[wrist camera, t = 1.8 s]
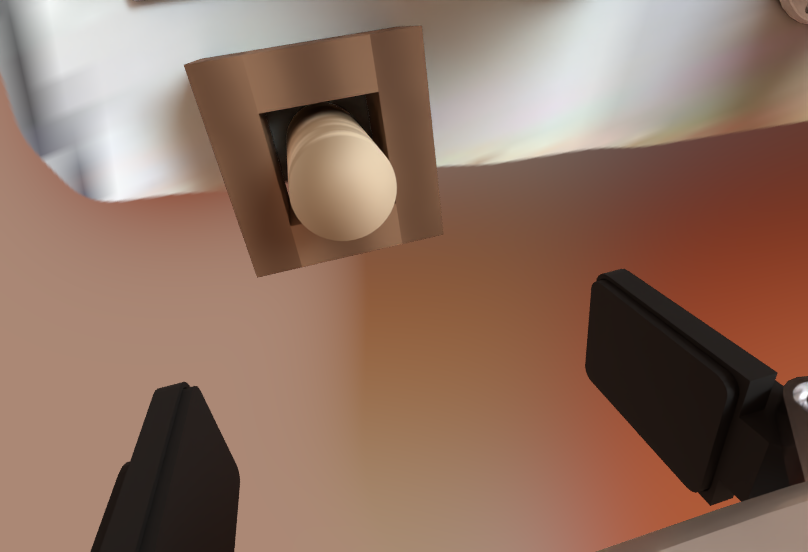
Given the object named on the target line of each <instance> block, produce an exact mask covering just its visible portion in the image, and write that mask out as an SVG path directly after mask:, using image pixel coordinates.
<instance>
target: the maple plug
mask: <svg viewBox="0 0 808 552" xmlns="http://www.w3.org/2000/svg"><path fill="white" fill-rule="evenodd" d="M286 147H287V166H288V185H289V198H290V203H291V206H292V208H293V211H294V213H295V215H296V216H297V218H298V219H299V221H300V222H301V223H302V224H303V225H304V226H305V227H306V228H307V229H309V230H310V231H311V232H313V233H314V234H316V235H318V236H320V237H323V238H326V239H329V240H334V241H350V240H355V239H359V238H362V237H364V236H366V235H368V234H370V233H372V232H373V231H375V230H376V229H377V228H379V227H380V226H381V225H382V224H383V223H384V221H385V220H386V219H387V218H388V216H389V214H390V213H391V211H392V208H393V206H394V203H395V199H396V194H397V183H396V177H395V173H394V170H393V168H392V166H391V164H390V162H389V160H388V159H387V157H386V156H385V155H384V154H383V152H382V151H381V150H380V149H379V148H378V146H377V145H376V144H375V143H374V142H373V141H372V139H371V138H370V137H369V136H368V135H367V133H366V132H365V131H364V130H363V129H362V127H361V126H360V125H359V124H358V123H357V121H356V120H355V119H354V118H353V117H352V116H351V115H350V114H349V113H348V112H347V111H346V110H345V109H343V108H342V107H340V106H338V105H335V104H332V103H326V102H319V103H314V104H310V105H308V106H306V107H304V108H302V109H301V110H300V111H298V112H297V113H296V114H295V115H294V117H293V118H292V120H291V122H290V124H289V126H288V129H287V134H286Z"/></svg>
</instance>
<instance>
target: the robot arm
mask: <svg viewBox="0 0 808 552" xmlns="http://www.w3.org/2000/svg"><path fill="white" fill-rule="evenodd" d="M779 1H780V3H781V5H782V8H783V9H784V10H785V11H786V12H787V14H788V15H789V16H790V17H791V18H793V19H795V20H796V21H798V22H799V23H804V24H808V0H779ZM585 368H586V372H587V375H588V377H589V379H590V380H591V381H592V382H593V384H594V385H595V386H596V387H597V388H598V389H599V390H600V391H601V392H602V394H603V395H604V396H605V397H606V398H607V399H608V400H609V401H610V402H611V404H612V405H613V406H614V407H615V408H616V409H617V410H618V411H619V412H620V414H621V415H622V416H623V417H624V418H625V419H626V420H627V421H628V423H630V425H631V426H632V427H633V428H634V429H635V430H636V431H637V433H638V434H639V435H640V436H641V437H642V438H643V439H644V440H645V441H646V443H647V444H648V445H649V446H650V447H651V448H652V449H653V450H654V451H655V453H656V454H657V455H658V456H659V457H660V458H661V459H662V460H663V462H664V463H665V464H666V465H667V466H668V467H669V468H670V469H671V470H672V472H673V473H674V474H675V475H676V476H677V477H678V478H679V479H680V480H681V482H682V483H683V484H684V485H685V486H686V487H687V488H688V489H689V490H691V491H692V492H698V493H699V494H700V495H701V496H702V497H703V498H704V499H705V500H706V502H708V504H709V505H710V506H711V505H714V504H717V503H720V502H722V501H725V500H728V499H731V498H733V496H734V495H735V496H736V497H737V498H738V499H739V500H740V501H741V502H739V503H736V504H733V505H730V506H727V507H724V508H721V509H718V510H715V511H712V512H710V513H706V514H704V515H701V516H698V517H695V518H692V519H689V520H686V521H683V522H681V523H678V524H675V525H672V526H669V527H666V528H663V529H660V530H657V531H654V532H651V533H649V534H646V535H643V536H640V537H637V538H634V539H632V540H629V541H625V542H623V543H620V544H617V545H614V546H611V547H608V548H606V549H603V550H600V551H597V552H808V376H804V377H796V378H794V379H791V380H789V381H788V382H787V383H786V384H785V385H784V386H783V385H781V384H780V383H778V382H777V381H776V380H775V379H776V376H777V372H776V371H774V370H773V369H771V368H770V367H768V366H767V365H765V364H764V363H762V362H761V361H759V360H758V359H757V358H755V357H754V356H752V355H751V354H749V353H748V352H746V351H745V350H743V349H742V348H741V347H739V346H738V345H736V344H735V343H733V342H732V341H730V340H729V339H727V338H726V337H724V336H723V335H721V334H720V333H718V332H717V331H715V330H714V329H713V328H711V327H709V326H708V325H707V324H705V323H704V322H702V321H701V320H699V319H698V318H696V317H695V316H693V315H692V314H691V313H689V312H688V311H686V310H685V309H683V308H682V307H680V306H679V305H677V304H676V303H674V302H673V301H672V300H670V299H669V298H667V297H665V296H664V295H663V294H661V293H660V292H658V291H657V290H656V289H654V288H653V287H651V286H650V285H648V284H647V283H645V282H644V281H642V280H641V279H639V278H638V277H636V276H635V275H633V274H632V273H630V272H629V271H627V270H625V269H620V270H615V271H612V272H608V273H604V274H601V275H599V276H598V278H597V281H596V282H594V283H593V285H592V288H591V300H590V313H589V326H588V339H587V350H586V364H585ZM239 488H240V476H239V471H238V467H237V465H236V463H235V461H234V459H233V457H232V455H231V453H230V451H229V449H228V446H227V444H226V443H225V440H224V438H223V436H222V434H221V432H220V430H219V428H218V426H217V424H216V422H215V420H214V418H213V416H212V414H211V411H210V409H209V407H208V405H207V403H206V401H205V399H204V397H203V395H202V393H201V391H200V389H199V388H198V387H197V386H193V387H190V386H189V385H188V384H187V383H186V382H182V383H178V384H174V385H170V386H167V387H162V388H159V389H157V390H155V392H154V394H153V397H152V401H151V403H150V406H149V409H148V412H147V415H146V417H145V420H144V423H143V426H142V429H141V432H140V435H139V438H138V441H137V444H136V446H135V449H134V452H133V455H132V458H131V461H130V462H127V463H126V464H124V465H123V466H122V468H121V470H120V472H119V474H118V477H117V480H116V482H115V485H114V488H113V491H112V494H111V496H110V499H109V502H108V505H107V508H106V510H105V513H104V516H103V518H102V522H101V524H100V527H99V530H98V532H97V535H96V538H95V541H94V544H93V546H92V549H91V552H234V548H235V536H236V523H237V512H238V499H239Z"/></svg>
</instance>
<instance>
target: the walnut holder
mask: <svg viewBox="0 0 808 552" xmlns="http://www.w3.org/2000/svg"><path fill="white" fill-rule="evenodd" d="M184 67H185V70H186V73H187V76H188V79H189V82H190V84H191V87H192V90H193V93H194V96H195V99H196V102H197V105H198V108H199V110H200V113H201V116H202V119H203V122H204V125H205V128H206V131H207V134H208V136H209V139H210V142H211V145H212V148H213V151H214V154H215V157H216V160H217V163H218V165H219V168H220V171H221V174H222V177H223V180H224V183H225V186H226V189H227V191H228V194H229V197H230V200H231V203H232V206H233V209H234V211H235V214H236V217H237V220H238V223H239V226H240V229H241V232H242V234H243V238H244V240H245V243H246V246H247V249H248V252H249V255H250V258H251V261H252V264H253V267H254V269H255V272H256V275H257V277H262V276H266V275H270V274H275V273H279V272H283V271H288V270H292V269H296V268H300V267H305V266H309V265H314V264H318V263H322V262H326V261H331V260H335V259H339V258H344V257H348V256H353V255H357V254H361V253H366V252H370V251H374V250H378V249H383V248H387V247H391V246H396V245H400V244H404V243H408V242H413V241H417V240H422V239H426V238H430V237H435V236H439V235H443V226H442V216H441V207H440V197H439V188H438V178H437V168H436V158H435V149H434V139H433V130H432V120H431V110H430V101H429V91H428V81H427V72H426V62H425V53H424V43H423V33H422V26H402V27H393V28H387V29H381V30H375V31H368V32H362V33H356V34H350V35H344V36H338V37H332V38H326V39H320V40H313V41H307V42H301V43H295V44H289V45H283V46H277V47H271V48H265V49H259V50H252V51H246V52H240V53H234V54H228V55H222V56H216V57H210V58H204V59H199V60H196V61H194V62H191V63H188V64H185V65H184ZM363 94H365V98H366V104H367V109H368V115H369V121H370V127H371V133H372V139H373V142H374V143H375V144H376V145H377V146H378V148H379V149H380V150H381V151H382V152H383V154H384V155H385V156H386V157H387V159H388V160H389V162H390V164H391V166H392V168H393V170H394V173H395V177H396V183H397V194H396V199H395V203H394V206H393V208H392V211H391V213H390V214H389V216H388V218H387V219H386V220H385V221H384V223H383V224H382V225H381V226H380V227H379V228H377V229H376V230H375V231H373V232H372V233H370V234H368V235H366V236H364V237H362V238H359V239H355V240H350V241H334V240H329V239H326V238H323V237H320V236H318V235H316V234H314V233H313V232H311V231H310V230H309V229H307V228H306V227H305V226H304V225H303V224H302V223H301V222H300V221H299V219H298V218H297V216H296V215H295V213H294V211H293V208H292V206H291V203H290V198H289V195H288V192H287V188H286V185H285V181H284V177H283V174H282V170H281V167H280V163H279V159H278V156H277V152H276V148H275V145H274V141H273V138H272V134H271V130H270V127H269V123H268V120H267V116H266V112H270V111H276V110H281V109H287V108H292V107H298V106H303V105H309V104H314V103H319V102H325V101H330V100H336V99H341V98H347V97H352V96H358V95H363Z"/></svg>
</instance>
